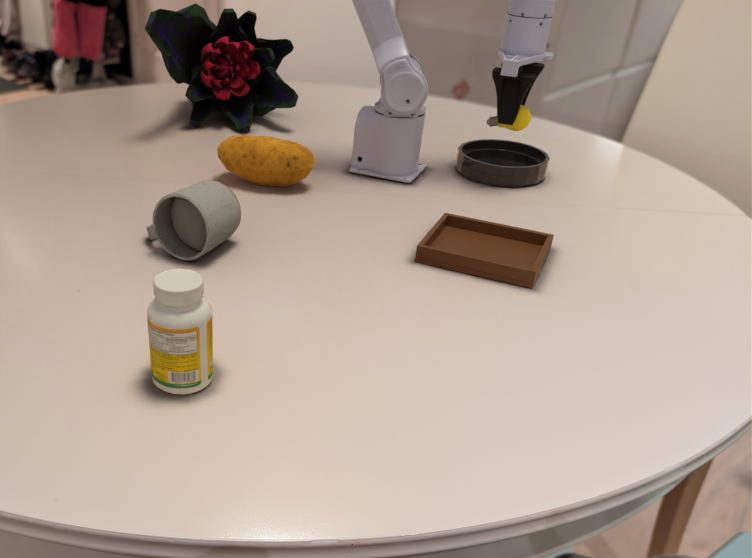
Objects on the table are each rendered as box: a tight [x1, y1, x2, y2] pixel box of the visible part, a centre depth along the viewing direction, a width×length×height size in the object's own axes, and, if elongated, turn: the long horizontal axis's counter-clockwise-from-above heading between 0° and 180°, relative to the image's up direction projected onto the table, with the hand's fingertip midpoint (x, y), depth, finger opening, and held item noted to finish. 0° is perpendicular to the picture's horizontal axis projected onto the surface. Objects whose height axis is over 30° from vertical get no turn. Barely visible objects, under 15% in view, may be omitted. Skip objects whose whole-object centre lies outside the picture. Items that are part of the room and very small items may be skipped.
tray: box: [414, 212, 555, 289], centre depth 86 cm, size 13×11×2 cm
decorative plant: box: [144, 3, 299, 133], centre depth 123 cm, size 21×26×30 cm
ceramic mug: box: [146, 180, 242, 262], centre depth 85 cm, size 11×8×8 cm
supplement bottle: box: [146, 268, 214, 395], centre depth 62 cm, size 5×5×10 cm
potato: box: [216, 134, 316, 187], centre depth 103 cm, size 8×14×7 cm, turn 65°
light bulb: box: [486, 105, 532, 132], centre depth 104 cm, size 3×6×4 cm, turn 71°
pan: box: [455, 138, 550, 188], centre depth 110 cm, size 13×13×3 cm
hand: (508, 120), depth 104 cm, fingers closed on light bulb, 3 cm apart
